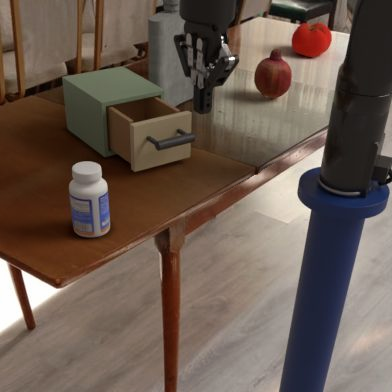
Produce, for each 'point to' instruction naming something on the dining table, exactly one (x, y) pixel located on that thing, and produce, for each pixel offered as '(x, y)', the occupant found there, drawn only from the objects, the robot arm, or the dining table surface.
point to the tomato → (311, 39)
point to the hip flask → (167, 54)
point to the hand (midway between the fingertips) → (201, 111)
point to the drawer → (149, 132)
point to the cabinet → (101, 101)
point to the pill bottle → (89, 200)
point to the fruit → (273, 75)
